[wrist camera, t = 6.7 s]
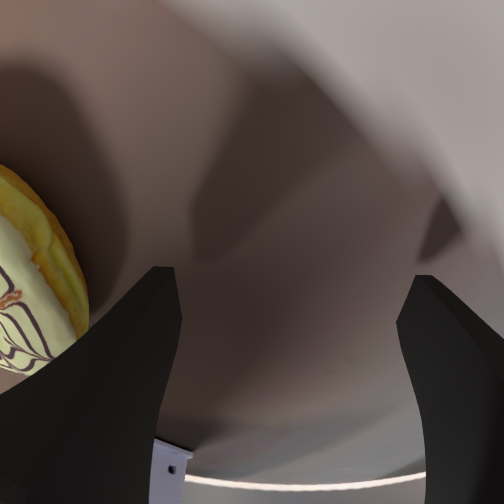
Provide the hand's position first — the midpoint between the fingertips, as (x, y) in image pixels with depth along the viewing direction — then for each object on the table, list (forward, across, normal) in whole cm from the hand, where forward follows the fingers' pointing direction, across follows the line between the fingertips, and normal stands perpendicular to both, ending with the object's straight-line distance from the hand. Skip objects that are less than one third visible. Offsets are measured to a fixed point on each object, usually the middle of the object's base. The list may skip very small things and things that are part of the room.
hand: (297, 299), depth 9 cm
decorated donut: (+2, +12, 0) cm, 13 cm away
